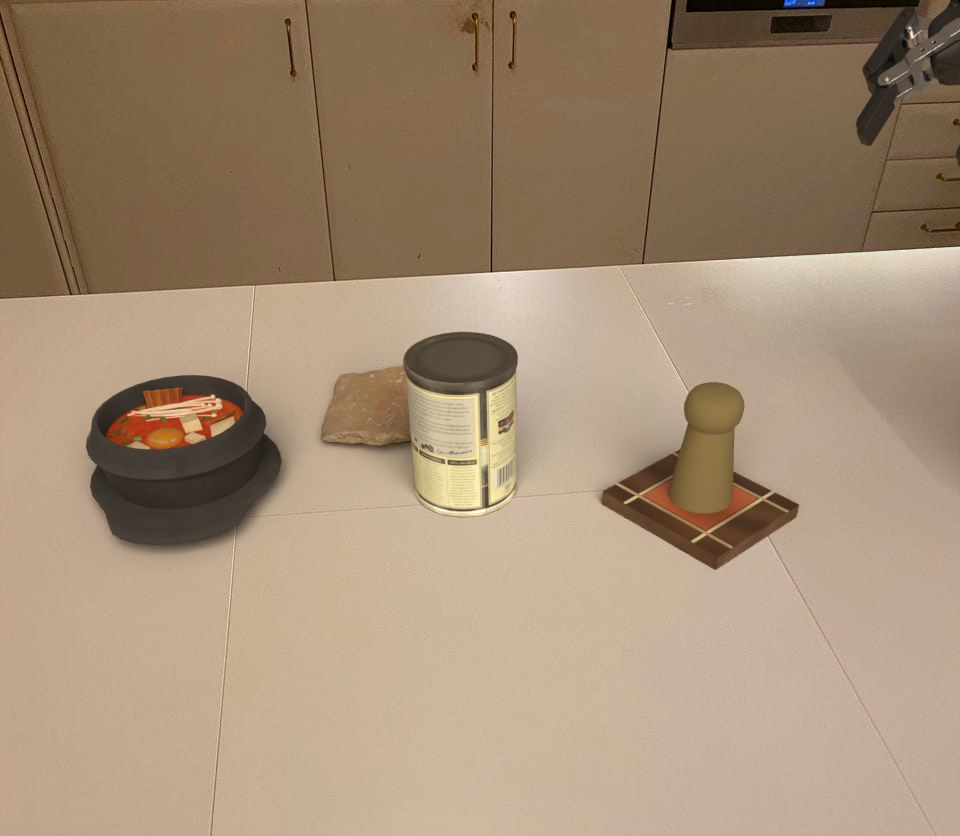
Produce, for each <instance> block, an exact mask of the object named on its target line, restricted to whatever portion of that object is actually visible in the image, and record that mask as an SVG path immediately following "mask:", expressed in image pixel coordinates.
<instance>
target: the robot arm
mask: <svg viewBox="0 0 960 836" xmlns="http://www.w3.org/2000/svg"><path fill="white" fill-rule="evenodd" d="M925 39H926V40H925ZM922 40H925V41H922ZM921 41H922V42H921ZM920 42H921V43H920ZM928 59H929V64H930V67H928V68H926V69H924V70H923V68H922V66H923V64H924V62H925V61H927V60H928ZM861 72H862V74H863V77H864V78H865V82H866V84H867V89H868V92H869V94H871V96H870V97H869V99H868V101H867V103H866V104H865V105H864V107H863V109H862V110H861V112H860V114H859V115H858V117H857V119H856V123H855V128H856V134H857V138H858V140H859V143H860V145H863V146H867V147H871V146H872V145H873V144H874V143H875V140H876V139H877V137H878V136H879V134H880V132H881V131H882V129H883V128H884V126H885V125H886V123H887V121H888V120H889V118H890V116H891V115H892V114H893V112H894V110H895V108H896V104H895V103H897V102H899V101H901V100H902V99H904V98H905V97H907V96H908V95H910V94H912V93H913V92H922V91H924V90H926V89H927V88H929V87H931V86H933V85H935V83H937V82H938V84H939V85H943V86H960V0H949V3H948V5H947V6H946V7H945V8H944V9H943V11H941V12H940V13H939V14H937V15H936V16H935V17H934V18H931V17H925V16H920V15H918V14H917V11H916V7H914V6H912V5H911V6H906V7H905V8H902V10H900V11H899V13H898V15H897V17H896V18H895V20H894V21H893V22H892V24H891V26H889V29H888V30H887V31H886V33H885V34H884V36H883V37H882V39H881V40H880V41H879V43H878V44H877V46H876V47H875V49H874V50H873V52H872V53H871V55H870V56H869V57H868V59H867V60H866V62H865V63H864V64H863V67H862V70H861ZM955 157H956V161H957V167H959V168H960V144H959V145H958V146H957V149H956V152H955Z"/></svg>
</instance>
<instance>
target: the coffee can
mask: <svg viewBox="0 0 960 836" xmlns="http://www.w3.org/2000/svg"><path fill="white" fill-rule="evenodd" d="M518 363H519V355H518V351H517V350H516V348H515V347H514V346H513V345H512V344H511V343H510V342H508V341H507V340H505V339H503V338H501V337H499V336H496V335H491V334H489V333H483V332H477V331H476V332H475V331H451V332H445V333H439V334H435V335H432V336H428V337H426V338H423V339H421V340H419V341H417V342H414V344H412V345H411V346H410V347H409V348H408V349H407V350H406V352H405V353H404V355H403V359H402V364H403V365H404V369H405V372H406V383H407V395H408V407H409V420H410V432H411V441H410V443H411V453H412V465H413V478H414V479H413V480H414V488H413V489H414V495H415V497H416V499H417V500H418V502H419V503H420V504H421V505H422V506H423V507H424V508H426V509H428V510H431V511H432V512H434V513H437V514H439V515H444V516H450V517H458V518H466V517H468V518H469V517H478V516H479V517H480V516H483V515H488V514H491V513H495V512H496V511H499V510H500V509H501V508H504V507H505V506H506V505H507V504H509V503H510V502H511V501H512V500H513V499H514V497H515V495H516V492H517V490H518V483H517V367H518Z"/></svg>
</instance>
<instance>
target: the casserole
mask: <svg viewBox="0 0 960 836" xmlns="http://www.w3.org/2000/svg"><path fill="white" fill-rule="evenodd" d="M266 417H267V415H266V414H265V412H264V410H263V409H262V407H261V406H260V405H259V404H257V403H256V402H255V401H254V400H253V399H252V397H251V395H250V394H249V392H248V391H247V390H245V388H244V387H242V386H241V385H239V384H237V383H236V382H234V381H231V380H227V379H226V378H223V377H222V378H221V377H217V376H212V375H199V374H183V375H182V374H180V375H173V376H171V375H170V376H165V377H160V378H155V379H154V378H153V379H150V380H147V381H144V382H140V383H137V384H134V385H132V386H129V387H126V388H124V389H123V390H121V391H119V392H117V393H116V394H114V395H112V396H110V397H109V398H107V400H105V401H104V402H103V403H102V404H101V405H100V406H99V407H98V408H97V409H96V411H95V412H94V414H93V415H92V418H91V425H90V430H89V433H88V435H87V437H86V443H85V449H86V452H87V456H88V457H89V459H90V460H91V461H92V463H94V464H95V465H96V466H95V468H94V470H93V472H92V474H91V476H90V482H89V488H90V489H89V490H90V492H91V496H92V498H93V499H94V501H95V502H96V503H97V505H98V506H99V507H100V509H101V510H102V512H103V513H104V514H105V517H106V521H107V525H108V527H109V530H110V532H111V534H112V535H113V536H115V537H116V538H118V539H119V540H121V541H125V542H128V543H132V544H140V545H149V546H157V545H159V546H162V545H163V546H164V545H165V546H166V545H178V544H179V545H180V544H187V543H192V542H197V541H201V540H205V539H209V538H213V537H216V536H219V535H221V534H223V533H227V532H229V531H230V530H232V529H234V528H235V527H236V526H238V525H239V524H240V523H241V522H242V520H243V519H244V518H245V516H246V515H247V514H248V512H249V510H250V508H251V507H252V505H253V503H254V502H255V501H256V500H257V499H258V498H259V497H260V496H261V495H262V494H263V493H264V492H265V491H266V490H267V489H268V488H269V487H270V486H271V485H272V484H273V483H274V481H275V480H276V478H277V477H278V475H279V473H280V470H281V467H282V461H283V460H282V454H281V451H280V449H279V448H278V446H277V444H276V442H274V441H273V439H271V438H270V437H269V436H268V435H267V434H266V433H265V430H266V428H267V418H266Z"/></svg>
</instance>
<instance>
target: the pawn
mask: <svg viewBox="0 0 960 836" xmlns="http://www.w3.org/2000/svg"><path fill="white" fill-rule="evenodd" d="M744 411H745V400H744V397H743V395H742V393H741V392H740V391H739V389H738V388H736V387H734V386H732V385H730V384H727V383H724V382H717V381H708V382H703V383H700V384H697V385H695V386H694V387H693V388H692V389H691V390H689V392H688V393H687V395H686V398H685V401H684V404H683V412H684V419H685V420H686V422H687V425H686V429H685V432H684V435H683V439H682V443H681V446H680V448H679V449H680V453H679V456H678V459H677V463H676V466H675V470H674V473H673V477H672V480H671V484H670V487H669V490H668V495H669V499H670V500H671V501H672V502H673V504H675V505H676V506H678V507H679V508H681V509H684V510H687V511H689V512H695V513H714V512H719V511H721V510H723V509H726V508H727V507H728V506H729V505H730V504H731V502H732V498H733V471H734V466H735V465H734V463H735V462H734V461H735V460H734V458H735V429H736V427H737V426H738V425H739V424H740V423H741V420H742V418H743V415H744Z"/></svg>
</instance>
